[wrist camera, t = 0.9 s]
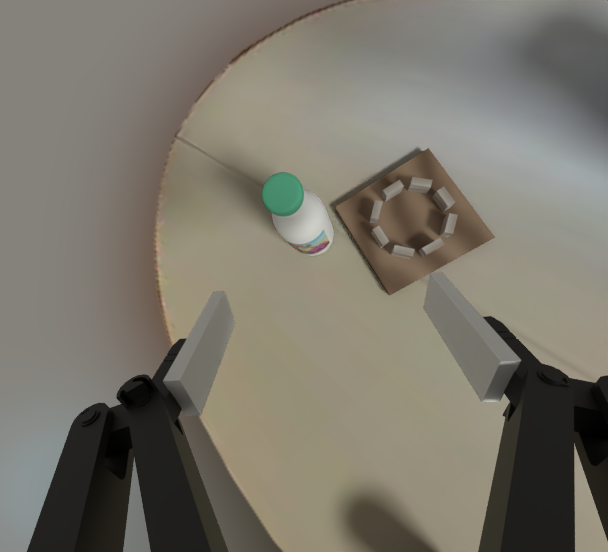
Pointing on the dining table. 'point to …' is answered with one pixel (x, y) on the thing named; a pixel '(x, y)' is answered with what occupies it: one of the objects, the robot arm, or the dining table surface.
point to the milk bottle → (298, 214)
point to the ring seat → (412, 222)
